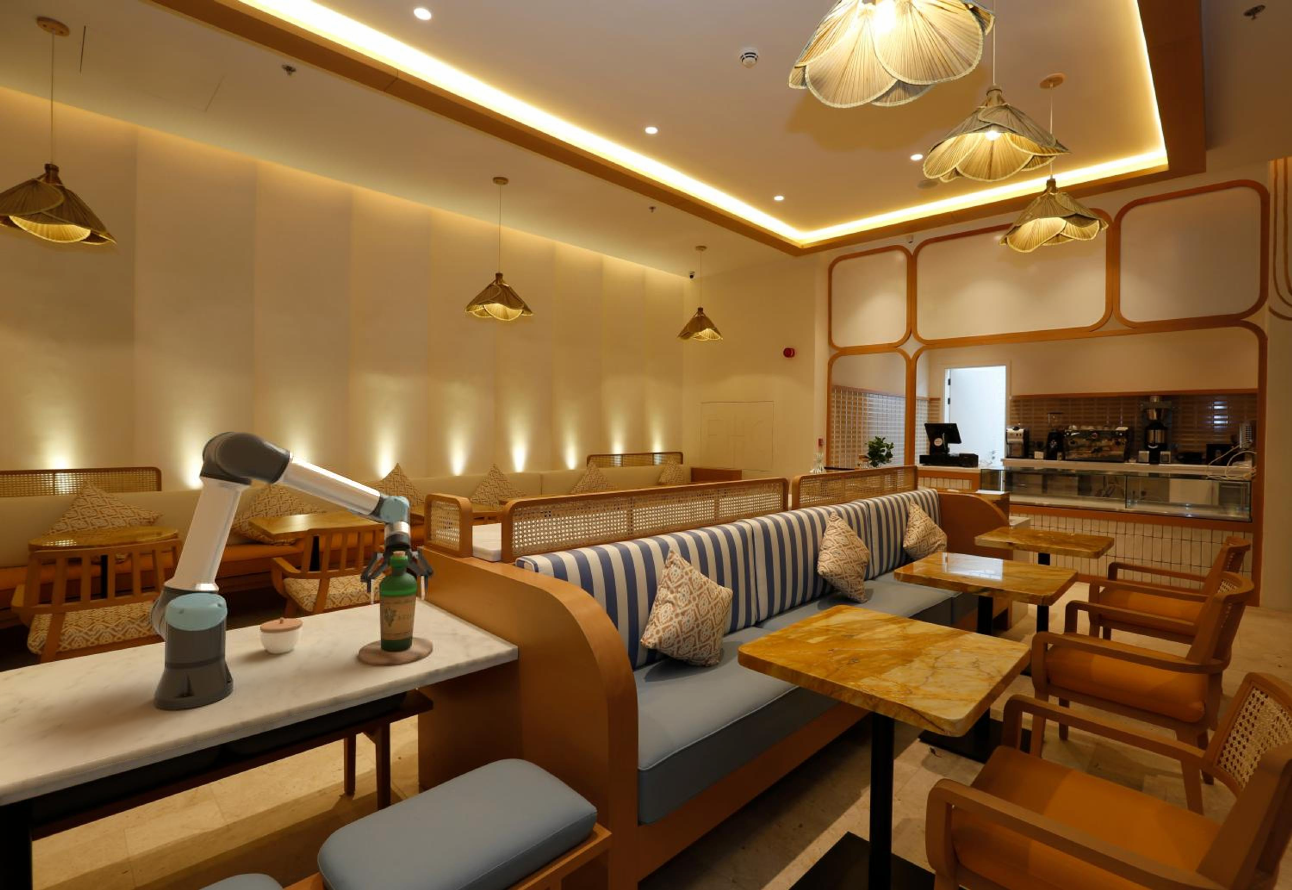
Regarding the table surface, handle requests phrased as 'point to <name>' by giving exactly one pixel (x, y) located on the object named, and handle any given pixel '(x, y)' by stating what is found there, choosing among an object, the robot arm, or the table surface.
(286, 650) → the lidded jar
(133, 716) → the table surface
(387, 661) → the serving board
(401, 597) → the bottle
